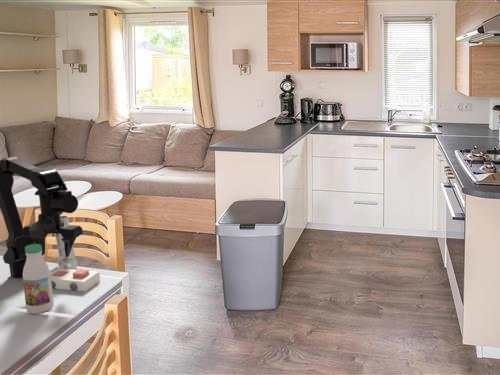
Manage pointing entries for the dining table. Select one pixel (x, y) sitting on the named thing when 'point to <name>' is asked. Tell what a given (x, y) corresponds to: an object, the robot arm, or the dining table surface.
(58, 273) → the inner button
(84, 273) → the outer button
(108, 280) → the dining table surface
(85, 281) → the switch panel
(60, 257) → the plastic bottle
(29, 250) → the milk bottle
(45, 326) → the dining table surface
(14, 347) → the dining table surface
